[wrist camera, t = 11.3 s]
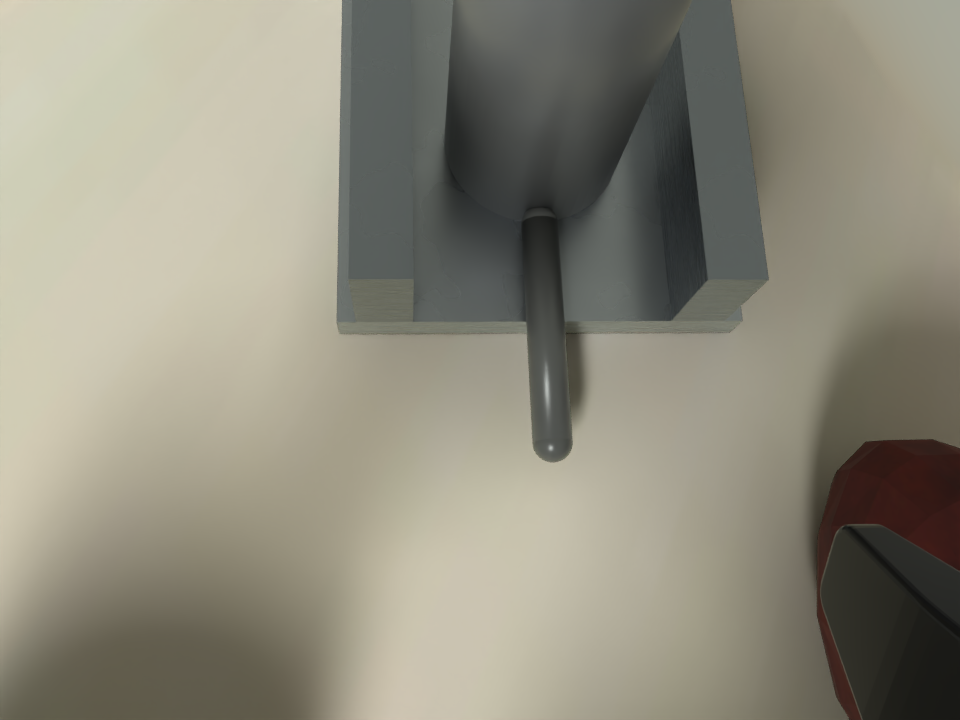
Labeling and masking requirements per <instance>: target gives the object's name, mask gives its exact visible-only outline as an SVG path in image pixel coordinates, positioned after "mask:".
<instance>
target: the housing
mask: <svg viewBox="0 0 960 720" xmlns="http://www.w3.org/2000/svg"><path fill="white" fill-rule="evenodd" d="M452 12H453V0H342V42H341V100H340V159H339V218H338V276H337V325H338V330H339V334H489V333H527V326H526V307H525V288H524V269H523V250H522V231H521V221H517V220H512V219H509V218H506V217H503V216H500V215H498V214H496V213H493V212H491V211H489V210H488V209H486V208H484V207H483V206H481V205H480V204H478V203H477V202H476V201H475V200H473V199H472V198H471V197H470V196H469V195H468V194H467V193H466V192H465V191H464V190H463V188H462V187H461V186H460V185H459V183H458V182H457V180H456V179H455V177H454V175H453V173H452V171H451V169H450V166H449V164H448V161H447V157H446V153H445V144H444V137H445V120H446V105H447V89H448V74H449V58H450V43H451V27H452ZM558 228H559V243H560V258H561V274H562V289H563V304H564V319H565V333H704V332H731V331H732V330H733V329H734V328H735V327H736V326H737V325H738V324H740V323H741V322H742V321H743V320H742V312H741V305H742V304H743V303H744V302H746V301H747V300H748V299H749V298H750V297H751V296H752V295H753V294H754V293H755V292H756V291H757V290H758V289H759V288H760V287H762V286H763V285H764V284H765V283H766V282H767V281H768V280H769V277H768V270H767V263H766V255H765V248H764V241H763V233H762V226H761V219H760V211H759V204H758V197H757V189H756V182H755V175H754V167H753V160H752V153H751V145H750V138H749V131H748V123H747V116H746V109H745V101H744V94H743V87H742V79H741V72H740V65H739V57H738V50H737V43H736V35H735V28H734V21H733V13H732V6H731V0H692V2H691V4H690V7H689V9H688V11H687V13H686V15H685V18H684V20H683V22H682V24H681V26H680V29H679V31H678V33H677V35H676V37H675V40H674V42H673V44H672V46H671V48H670V51H669V53H668V55H667V57H666V59H665V62H664V64H663V66H662V68H661V70H660V73H659V75H658V77H657V79H656V81H655V84H654V86H653V88H652V90H651V92H650V95H649V97H648V99H647V101H646V103H645V105H644V108H643V110H642V112H641V114H640V116H639V119H638V121H637V123H636V125H635V127H634V130H633V132H632V134H631V136H630V138H629V141H628V143H627V145H626V147H625V149H624V152H623V154H622V156H621V158H620V160H619V163H618V165H617V167H616V169H615V171H614V174H613V176H612V178H611V180H610V182H609V184H608V185H607V187H606V189H605V190H604V191H603V193H602V194H601V195H600V196H599V197H598V198H597V199H596V200H595V201H594V202H593V203H592V204H590V205H589V206H588V207H586V208H585V209H583V210H582V211H580V212H578V213H576V214H574V215H572V216H569V217H566V218H563V219H560V220H558Z"/></svg>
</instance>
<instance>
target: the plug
mask: <svg viewBox="0 0 960 720" xmlns="http://www.w3.org/2000/svg"><path fill="white" fill-rule="evenodd" d="M691 2H692V0H453V12H452V27H451V43H450V58H449V74H448V89H447V105H446V120H445V137H444V144H445V153H446V157H447V161H448V164H449V166H450V169H451V171H452V173H453V175H454V177H455V179H456V180H457V182H458V183H459V185H460V186H461V187H462V188H463V190H464V191H465V192H466V193H467V194H468V195H469V196H470V197H471V198H472V199H473V200H475V201H476V202H477V203H478V204H480V205H481V206H483V207H484V208H486V209H488V210H489V211H491V212H493V213H496V214H498V215H500V216H503V217H506V218H509V219H512V220H517V221H521V231H522V250H523V269H524V288H525V307H526V326H527V344H528V363H529V382H530V401H531V420H532V439H533V448H534V451H535V452H536V454H537V455H538V456H539V457H540V458H541V459H542V460H545V461H547V462H558V461H561V460H563V459H565V458H566V457H567V456H568V455H569V453H570V451H571V449H572V443H573V441H572V425H571V410H570V395H569V380H568V365H567V350H566V334H565V319H564V304H563V289H562V274H561V258H560V243H559V228H558V220H560V219H563V218H566V217H569V216H572V215H574V214H576V213H578V212H580V211H582V210H583V209H585V208H586V207H588V206H589V205H590V204H592V203H593V202H594V201H595V200H596V199H597V198H598V197H599V196H600V195H601V194H602V193H603V191H604V190H605V189H606V187H607V185H608V184H609V182H610V180H611V178H612V176H613V174H614V171H615V169H616V167H617V165H618V163H619V160H620V158H621V156H622V154H623V152H624V149H625V147H626V145H627V143H628V141H629V138H630V136H631V134H632V132H633V130H634V127H635V125H636V123H637V121H638V119H639V116H640V114H641V112H642V110H643V108H644V105H645V103H646V101H647V99H648V97H649V95H650V92H651V90H652V88H653V86H654V84H655V81H656V79H657V77H658V75H659V73H660V70H661V68H662V66H663V64H664V62H665V59H666V57H667V55H668V53H669V51H670V48H671V46H672V44H673V42H674V40H675V37H676V35H677V33H678V31H679V29H680V26H681V24H682V22H683V20H684V18H685V15H686V13H687V11H688V9H689V7H690V4H691Z"/></svg>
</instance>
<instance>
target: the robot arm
mask: <svg viewBox="0 0 960 720" xmlns="http://www.w3.org/2000/svg"><path fill="white" fill-rule="evenodd" d="M820 597H821V603H822V607H823V610H824V613H825V616H826V619H827V622H828V625H829V628H830V630H831V633H832V636H833V639H834V642H835V645H836V648H837V651H838V653H839V656H840V659H841V662H842V665H843V668H844V671H845V673H846V676H847V679H848V682H849V685H850V688H851V691H852V693H853V696H854V699H855V702H856V705H857V708H858V711H859V714H860V716H861V719H862V720H960V571H958V570H957V569H955V568H953V567H952V566H950V565H948V564H947V563H945V562H943V561H942V560H940V559H938V558H937V557H935V556H933V555H932V554H930V553H928V552H927V551H925V550H923V549H922V548H920V547H918V546H917V545H915V544H913V543H911V542H910V541H908V540H906V539H905V538H903V537H901V536H900V535H898V534H896V533H895V532H893V531H891V530H890V529H888V528H886V527H884V526H882V525H879V524H852V525H845V526H842V527H841V528H839V530H838V531H837V532H836V534H835V537H834V540H833V543H832V546H831V550H830V553H829V557H828V560H827V563H826V567H825V570H824V574H823V577H822V581H821V586H820Z"/></svg>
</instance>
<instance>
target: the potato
mask: <svg viewBox="0 0 960 720" xmlns="http://www.w3.org/2000/svg"><path fill="white" fill-rule="evenodd" d="M852 524H879V525H882V526H884V527H886V528H888V529H890V530H891V531H893V532H895V533H896V534H898V535H900V536H901V537H903V538H905V539H906V540H908V541H910V542H911V543H913V544H915V545H917V546H918V547H920V548H922V549H923V550H925V551H927V552H928V553H930V554H932V555H933V556H935V557H937V558H938V559H940V560H942V561H943V562H945V563H947V564H948V565H950V566H952V567H953V568H955V569H957V570H958V571H960V448H957V447H954V446H951V445H948V444H945V443H942V442H938V441H935V440H932V439H928V440H883V441H870V442H865V443H864V444H863V445H862V446H861V447H860V448H859V449H858V450H857V451H856V452H855V453H854V454H853V455H852V456H851V457H850V458H849V459H848V460H847V461H846V463H845V464H844V465H843V466H842V467H841V468H840V469H839V470H838V471H837V472H836V474H835V477H834V479H833V482H832V485H831V489H830V492H829V496H828V500H827V504H826V507H825V511H824V515H823V519H822V522H821V526H820V529H819V533H818V537H817V618H818V622H819V626H820V630H821V634H822V639H823V643H824V647H825V651H826V655H827V660H828V664H829V668H830V672H831V677H832V681H833V685H834V689H835V693H836V697H837V699H838V701H839V702H840V704H841V706H842V707H843V709H844V711H845V712H846V714H847V716H848V717H849V719H850V720H862V719H861V716H860V714H859V711H858V708H857V705H856V702H855V699H854V696H853V693H852V691H851V688H850V685H849V682H848V679H847V676H846V673H845V671H844V668H843V665H842V662H841V659H840V656H839V653H838V651H837V648H836V645H835V642H834V639H833V636H832V633H831V630H830V628H829V625H828V622H827V619H826V616H825V613H824V610H823V607H822V603H821V597H820V586H821V581H822V577H823V574H824V570H825V567H826V563H827V560H828V557H829V553H830V550H831V546H832V543H833V540H834V537H835V534H836V532H837V531H838V530H839V528H841V527H842V526H845V525H852Z"/></svg>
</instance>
